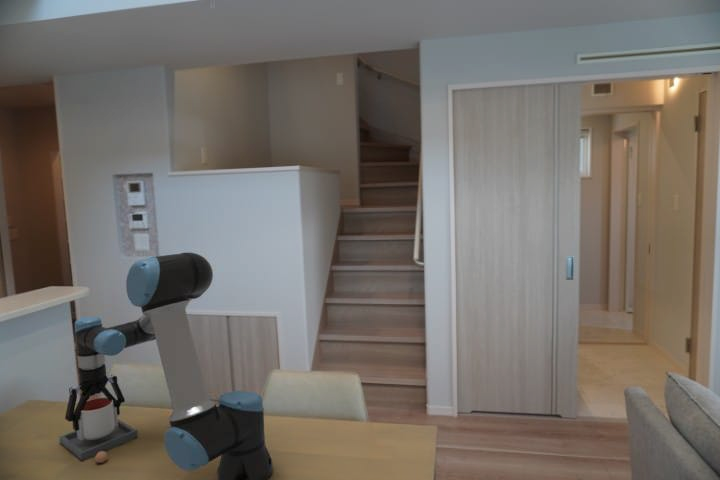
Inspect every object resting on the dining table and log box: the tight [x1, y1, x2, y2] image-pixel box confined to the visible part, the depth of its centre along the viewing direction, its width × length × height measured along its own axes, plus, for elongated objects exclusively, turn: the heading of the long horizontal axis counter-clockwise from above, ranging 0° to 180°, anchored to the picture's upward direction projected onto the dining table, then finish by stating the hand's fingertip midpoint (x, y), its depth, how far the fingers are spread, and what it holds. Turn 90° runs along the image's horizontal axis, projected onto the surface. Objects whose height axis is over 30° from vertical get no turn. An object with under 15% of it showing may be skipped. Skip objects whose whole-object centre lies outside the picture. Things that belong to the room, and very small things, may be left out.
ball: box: [94, 451, 108, 464], centre depth 143 cm, size 3×3×3 cm
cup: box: [79, 397, 115, 440], centre depth 155 cm, size 10×10×10 cm
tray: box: [58, 418, 138, 462], centre depth 156 cm, size 17×17×2 cm
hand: (98, 431), depth 156 cm, fingers closed on cup, 10 cm apart
